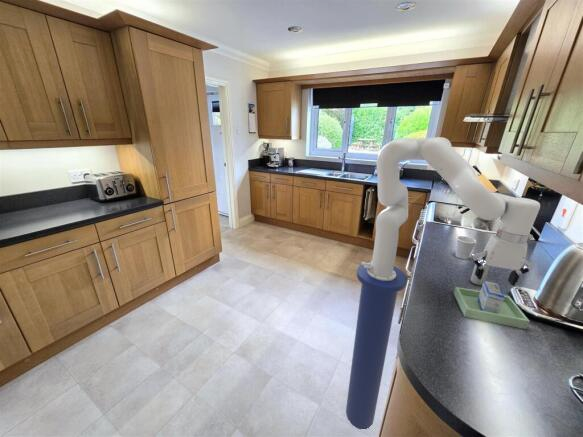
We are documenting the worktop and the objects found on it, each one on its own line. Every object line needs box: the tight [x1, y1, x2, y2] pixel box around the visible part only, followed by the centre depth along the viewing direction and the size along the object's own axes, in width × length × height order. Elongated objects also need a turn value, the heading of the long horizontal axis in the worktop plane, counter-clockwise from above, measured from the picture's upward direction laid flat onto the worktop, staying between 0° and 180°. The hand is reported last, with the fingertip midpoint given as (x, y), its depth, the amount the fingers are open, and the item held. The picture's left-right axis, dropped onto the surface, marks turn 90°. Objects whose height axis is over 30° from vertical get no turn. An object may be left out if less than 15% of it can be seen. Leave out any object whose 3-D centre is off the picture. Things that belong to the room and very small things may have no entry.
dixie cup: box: [455, 235, 477, 260], centre depth 125 cm, size 8×8×10 cm
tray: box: [453, 286, 530, 330], centre depth 88 cm, size 18×14×3 cm
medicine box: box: [478, 280, 505, 314], centre depth 87 cm, size 8×4×9 cm, turn 154°
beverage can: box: [470, 257, 491, 286], centre depth 102 cm, size 5×5×12 cm
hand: (494, 280), depth 85 cm, fingers open, 9 cm apart
